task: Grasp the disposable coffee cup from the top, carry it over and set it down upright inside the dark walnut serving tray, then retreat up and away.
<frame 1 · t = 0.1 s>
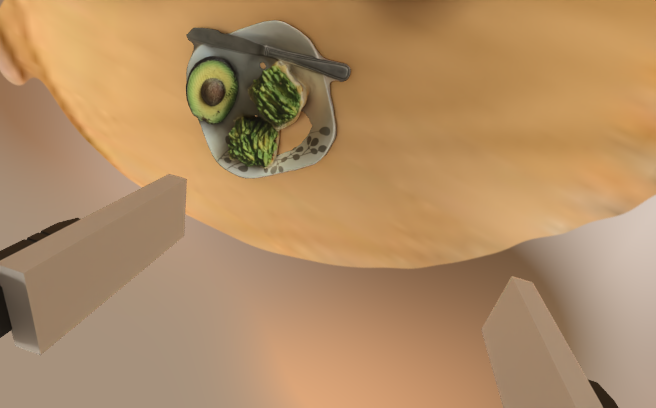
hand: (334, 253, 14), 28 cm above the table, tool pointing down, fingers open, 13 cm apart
salad plate: (260, 102, 41), on the table
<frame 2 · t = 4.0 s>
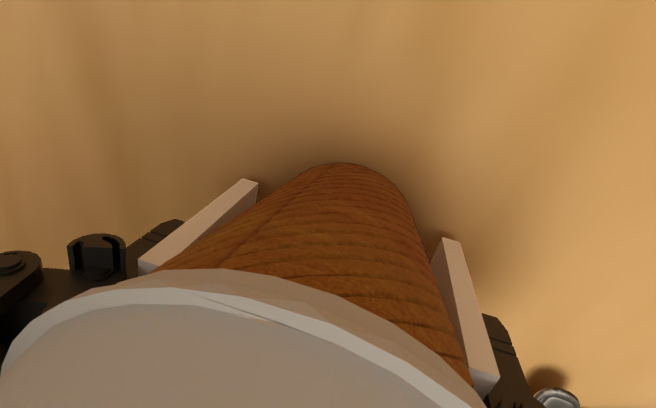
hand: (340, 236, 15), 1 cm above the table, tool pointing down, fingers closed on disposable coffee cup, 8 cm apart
disposable coffee cup: (343, 226, 16), on the table, touching gripper
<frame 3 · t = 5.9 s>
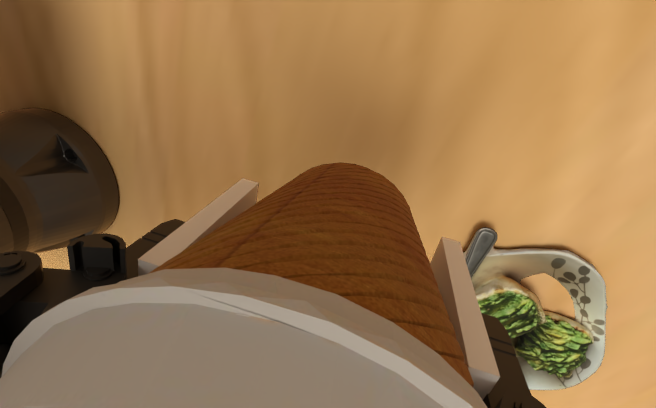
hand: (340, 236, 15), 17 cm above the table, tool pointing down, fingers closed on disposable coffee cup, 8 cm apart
salad plate: (498, 319, 35), on the table
disposable coffee cup: (343, 226, 16), point 16 cm above the table, touching gripper
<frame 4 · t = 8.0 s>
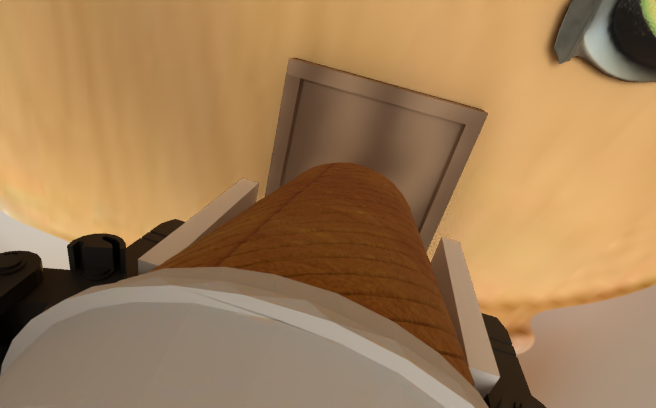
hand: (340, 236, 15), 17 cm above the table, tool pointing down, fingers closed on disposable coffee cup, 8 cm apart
walnut tray: (360, 171, 32), on the table
disposable coffee cup: (343, 226, 16), point 17 cm above the table, touching gripper
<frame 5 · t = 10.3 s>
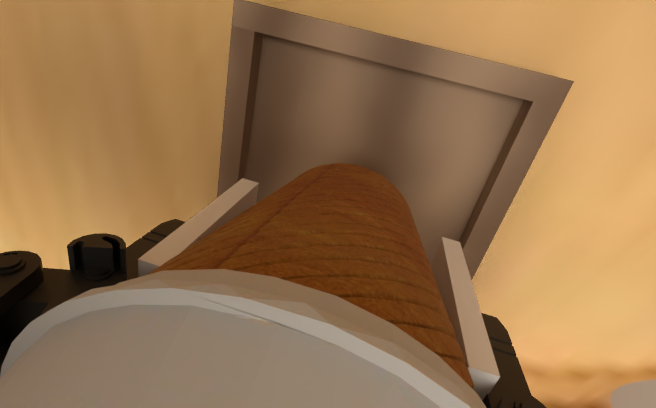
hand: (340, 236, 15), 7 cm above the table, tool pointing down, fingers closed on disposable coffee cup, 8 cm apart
walnut tray: (357, 180, 21), on the table
disposable coffee cup: (343, 227, 16), point 6 cm above the table, touching gripper
when the fingers open (2 cm above the table, at t = 12.1 s): disposable coffee cup stays where it is, resting on walnut tray.
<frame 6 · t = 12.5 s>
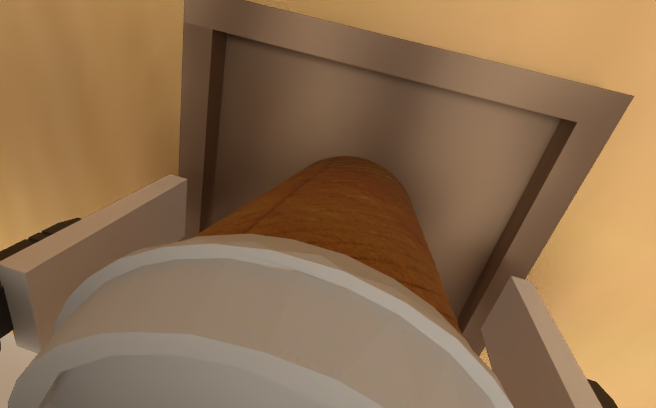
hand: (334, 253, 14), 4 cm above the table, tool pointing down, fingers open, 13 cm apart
walnut tray: (348, 212, 17), on the table
disposable coffee cup: (347, 217, 17), point 1 cm above the table, touching walnut tray
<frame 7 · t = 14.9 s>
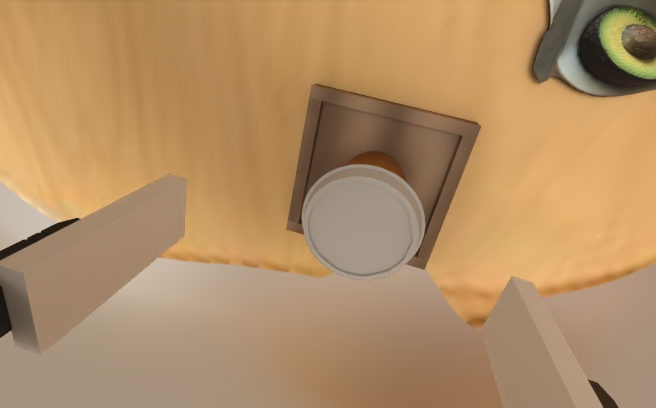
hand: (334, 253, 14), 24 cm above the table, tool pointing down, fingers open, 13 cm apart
walnut tray: (373, 177, 37), on the table
disposable coffee cup: (373, 179, 36), point 1 cm above the table, touching walnut tray
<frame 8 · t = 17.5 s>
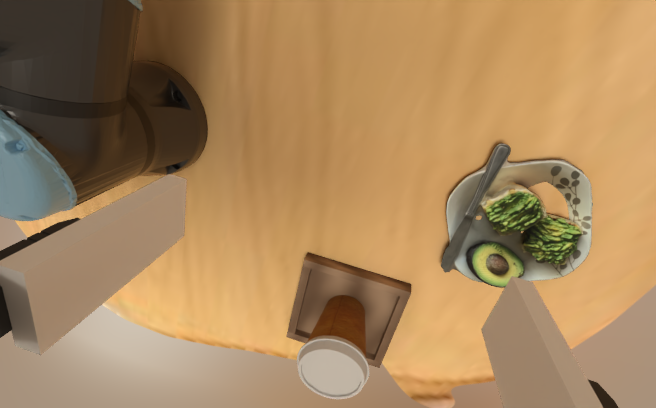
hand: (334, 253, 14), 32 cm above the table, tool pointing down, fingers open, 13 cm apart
walnut tray: (345, 307, 55), on the table
salad plate: (509, 225, 45), on the table
disposable coffee cup: (345, 310, 54), point 1 cm above the table, touching walnut tray
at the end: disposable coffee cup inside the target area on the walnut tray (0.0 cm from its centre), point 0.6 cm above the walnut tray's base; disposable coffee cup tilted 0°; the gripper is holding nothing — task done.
